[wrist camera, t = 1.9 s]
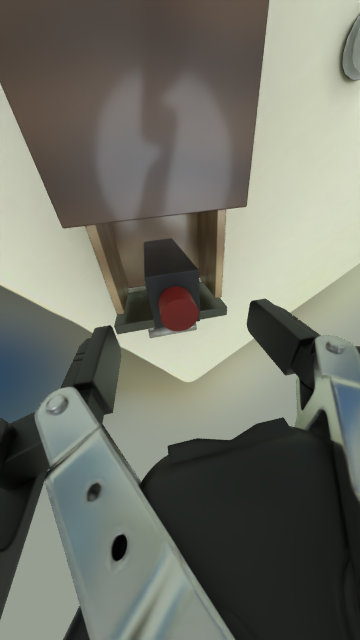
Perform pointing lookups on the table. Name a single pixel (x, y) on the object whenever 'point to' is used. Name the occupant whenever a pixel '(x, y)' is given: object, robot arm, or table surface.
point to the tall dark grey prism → (171, 285)
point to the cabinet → (135, 102)
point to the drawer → (128, 263)
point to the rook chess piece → (352, 52)
